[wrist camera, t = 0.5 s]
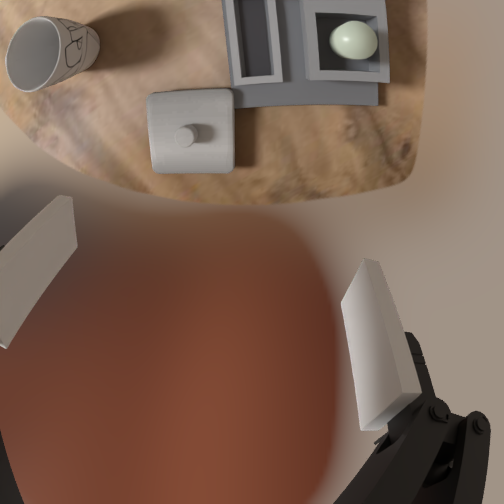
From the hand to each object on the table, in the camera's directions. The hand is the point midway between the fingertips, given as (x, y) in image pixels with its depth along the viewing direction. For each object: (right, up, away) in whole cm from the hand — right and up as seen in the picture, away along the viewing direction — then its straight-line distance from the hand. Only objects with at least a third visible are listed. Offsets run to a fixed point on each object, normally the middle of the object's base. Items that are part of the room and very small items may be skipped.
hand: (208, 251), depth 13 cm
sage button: (+11, +20, +11) cm, 25 cm away
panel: (+7, +27, +12) cm, 31 cm away
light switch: (-5, +15, +22) cm, 27 cm away
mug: (-21, +26, +16) cm, 37 cm away
